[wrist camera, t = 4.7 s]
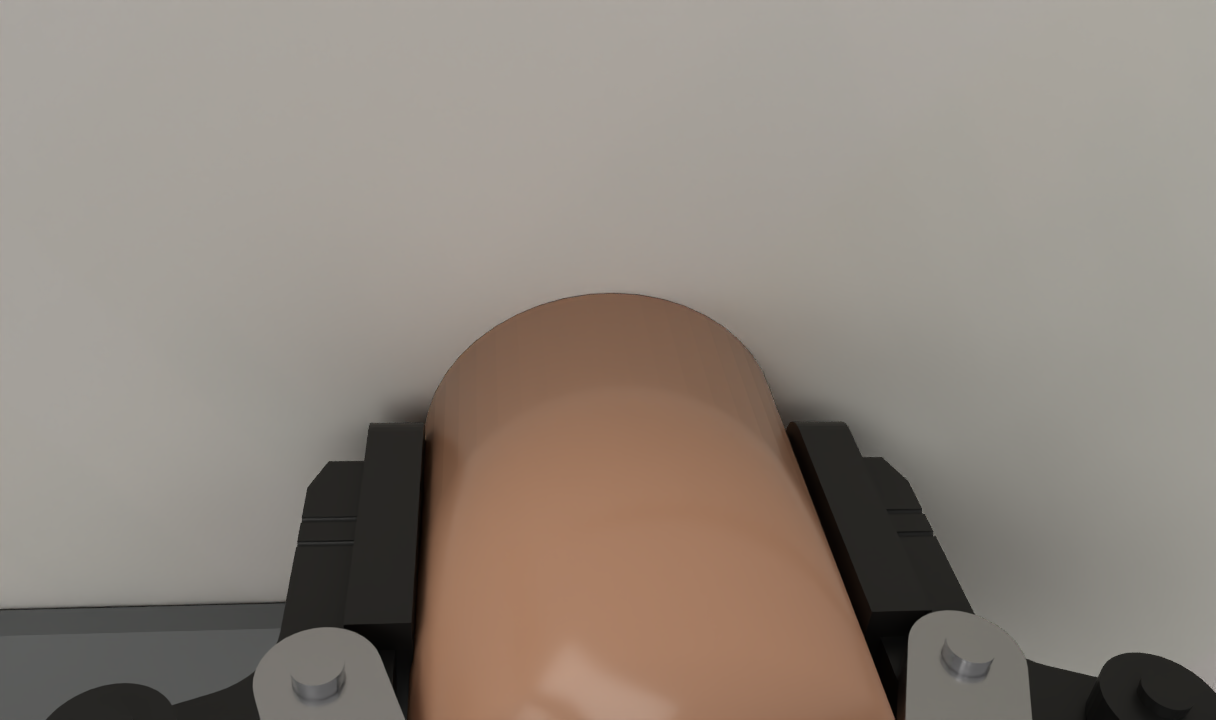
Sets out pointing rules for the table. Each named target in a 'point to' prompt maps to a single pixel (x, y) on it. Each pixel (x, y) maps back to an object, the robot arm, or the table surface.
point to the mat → (128, 651)
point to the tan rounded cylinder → (624, 533)
